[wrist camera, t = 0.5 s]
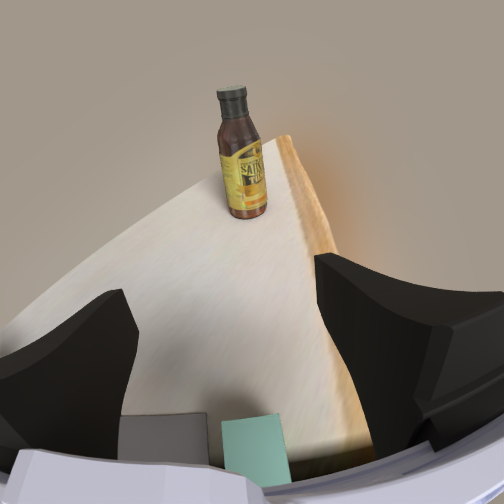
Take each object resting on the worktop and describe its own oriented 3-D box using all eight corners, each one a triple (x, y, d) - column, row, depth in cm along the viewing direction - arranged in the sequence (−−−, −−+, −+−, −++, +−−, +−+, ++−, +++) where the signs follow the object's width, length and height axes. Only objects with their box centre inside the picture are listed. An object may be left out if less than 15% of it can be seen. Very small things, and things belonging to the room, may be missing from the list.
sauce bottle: (254, 225, 46) (232, 93, 33) (222, 215, 49) (195, 95, 36) (276, 203, 50) (261, 82, 37) (246, 196, 53) (226, 84, 40)
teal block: (296, 507, 17) (295, 507, 13) (245, 514, 17) (230, 514, 13) (283, 434, 22) (278, 413, 19) (236, 441, 22) (221, 421, 19)
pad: (210, 474, 20) (209, 473, 20) (116, 471, 20) (115, 471, 20) (206, 413, 25) (205, 412, 24) (119, 417, 25) (118, 416, 24)
